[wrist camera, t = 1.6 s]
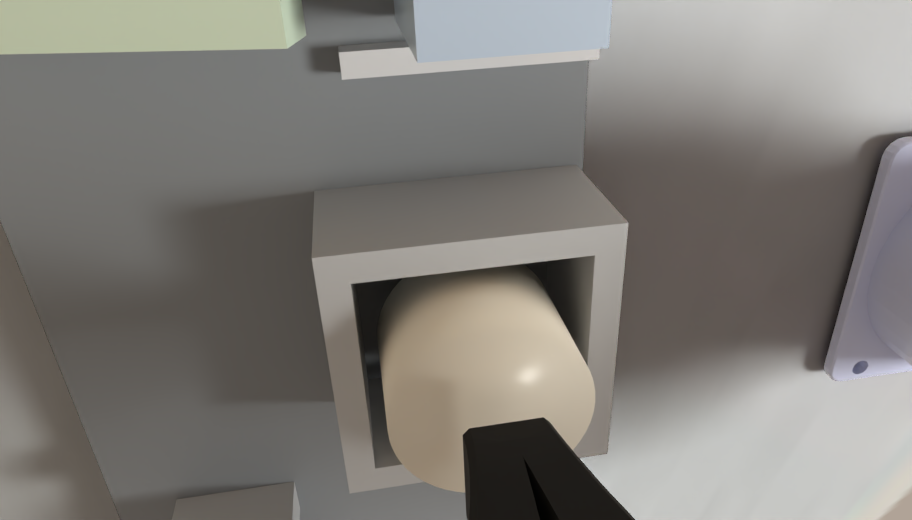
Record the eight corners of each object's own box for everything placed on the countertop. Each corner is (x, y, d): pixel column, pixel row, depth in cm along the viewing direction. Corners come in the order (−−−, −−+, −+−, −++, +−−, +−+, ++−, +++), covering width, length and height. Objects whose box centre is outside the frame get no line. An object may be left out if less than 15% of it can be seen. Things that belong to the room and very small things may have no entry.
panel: (572, -352, 12) (705, -482, 8) (539, 645, 27) (580, 790, 23) (-156, -351, 11) (-476, -508, 7) (226, 704, 25) (205, 873, 21)
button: (554, 240, 14) (601, 314, 12) (549, 386, 16) (589, 476, 13) (368, 261, 14) (377, 343, 11) (385, 409, 15) (396, 507, 13)
